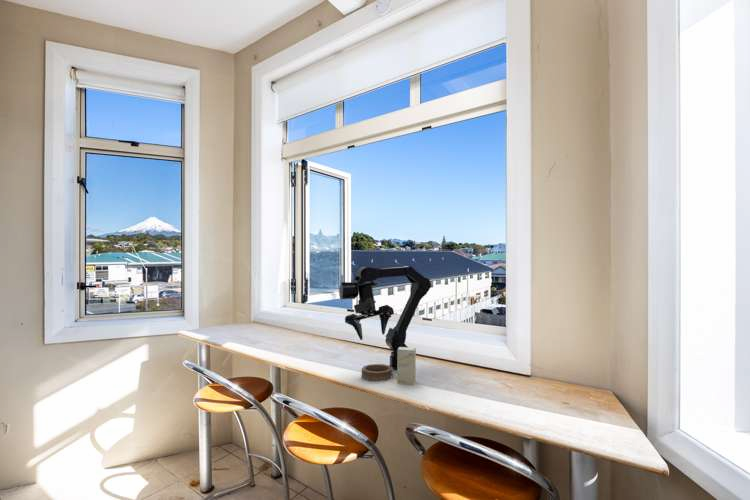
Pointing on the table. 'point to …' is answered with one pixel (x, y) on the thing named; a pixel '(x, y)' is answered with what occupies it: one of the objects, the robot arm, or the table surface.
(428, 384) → the table surface
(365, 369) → the walnut ring
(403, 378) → the skincare box
